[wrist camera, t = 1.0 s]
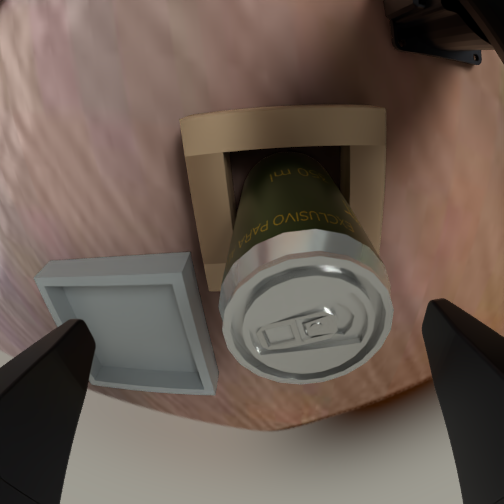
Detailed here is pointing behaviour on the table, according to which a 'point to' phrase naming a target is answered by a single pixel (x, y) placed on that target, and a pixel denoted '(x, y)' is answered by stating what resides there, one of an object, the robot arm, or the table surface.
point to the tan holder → (278, 136)
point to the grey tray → (137, 320)
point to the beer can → (301, 277)
